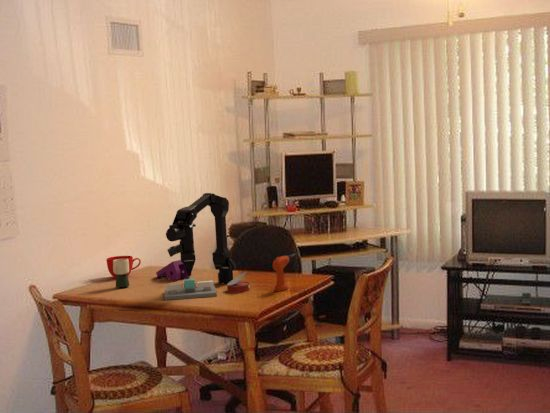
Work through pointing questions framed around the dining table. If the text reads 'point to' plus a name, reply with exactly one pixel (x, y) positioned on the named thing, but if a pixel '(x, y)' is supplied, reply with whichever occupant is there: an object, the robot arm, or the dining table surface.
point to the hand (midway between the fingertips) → (188, 274)
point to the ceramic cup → (130, 258)
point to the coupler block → (189, 283)
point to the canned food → (238, 285)
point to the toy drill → (281, 271)
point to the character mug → (121, 272)
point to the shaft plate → (190, 291)
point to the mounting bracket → (173, 271)
